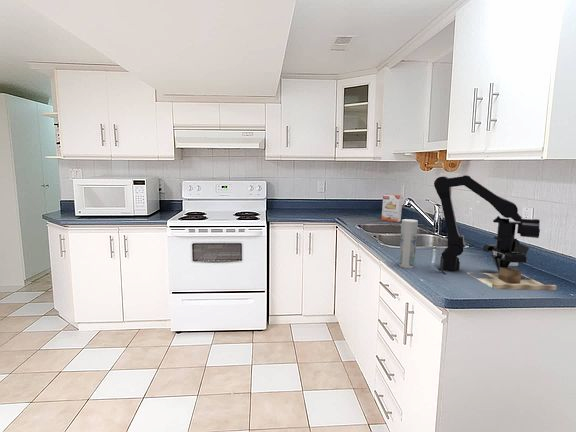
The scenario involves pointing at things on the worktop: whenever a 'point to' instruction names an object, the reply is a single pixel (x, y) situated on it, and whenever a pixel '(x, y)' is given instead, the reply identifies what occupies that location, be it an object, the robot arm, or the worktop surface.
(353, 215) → the worktop surface
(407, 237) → the spray can
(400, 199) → the cracker box
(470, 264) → the worktop surface
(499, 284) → the trap board
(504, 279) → the walnut block
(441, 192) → the robot arm
